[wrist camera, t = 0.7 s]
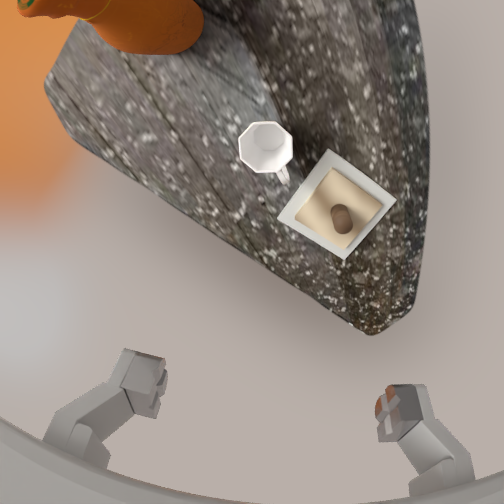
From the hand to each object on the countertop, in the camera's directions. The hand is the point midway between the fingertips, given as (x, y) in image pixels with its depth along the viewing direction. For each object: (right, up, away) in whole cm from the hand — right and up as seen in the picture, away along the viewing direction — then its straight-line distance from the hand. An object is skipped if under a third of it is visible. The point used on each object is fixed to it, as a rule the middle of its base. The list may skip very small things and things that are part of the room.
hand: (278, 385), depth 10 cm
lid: (+13, +11, +38) cm, 41 cm away
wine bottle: (-12, +37, +25) cm, 46 cm away
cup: (+2, +21, +34) cm, 40 cm away
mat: (+13, +12, +38) cm, 42 cm away
